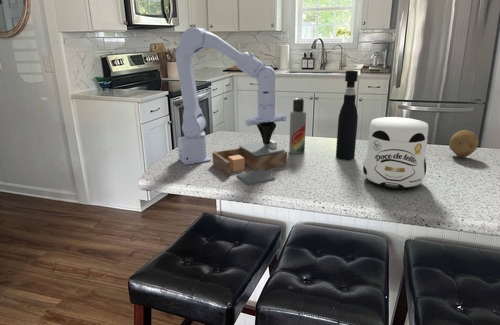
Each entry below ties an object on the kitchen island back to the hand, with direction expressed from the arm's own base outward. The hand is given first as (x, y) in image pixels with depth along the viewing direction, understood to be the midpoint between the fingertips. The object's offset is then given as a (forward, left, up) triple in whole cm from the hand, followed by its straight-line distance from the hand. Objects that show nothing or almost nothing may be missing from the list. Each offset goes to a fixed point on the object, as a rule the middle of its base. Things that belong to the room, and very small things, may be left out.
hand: (266, 143), depth 126 cm
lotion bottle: (+16, +4, -7) cm, 17 cm away
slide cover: (-2, 0, -2) cm, 2 cm away
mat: (-10, -11, -6) cm, 17 cm away
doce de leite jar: (+24, -34, -7) cm, 42 cm away
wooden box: (-6, 0, -6) cm, 9 cm away
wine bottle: (+27, -10, -7) cm, 29 cm away
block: (-12, -1, -6) cm, 14 cm away
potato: (+62, -30, -7) cm, 69 cm away
